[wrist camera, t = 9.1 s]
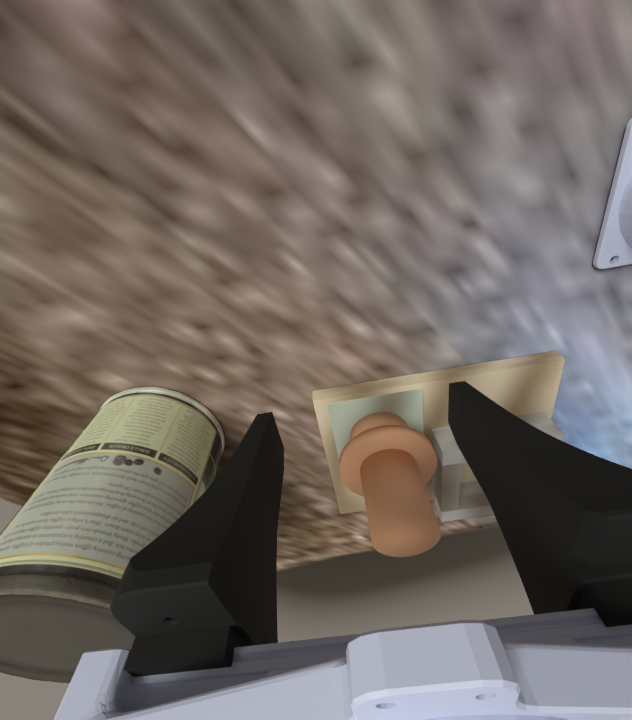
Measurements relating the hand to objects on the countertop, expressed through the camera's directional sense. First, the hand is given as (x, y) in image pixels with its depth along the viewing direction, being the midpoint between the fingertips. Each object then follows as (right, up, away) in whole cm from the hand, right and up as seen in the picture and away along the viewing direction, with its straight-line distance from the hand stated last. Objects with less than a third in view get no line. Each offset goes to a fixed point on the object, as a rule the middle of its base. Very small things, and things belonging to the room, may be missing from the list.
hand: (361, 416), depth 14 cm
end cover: (+3, -4, +13) cm, 14 cm away
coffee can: (-15, -4, +14) cm, 21 cm away
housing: (+8, -4, +15) cm, 18 cm away
